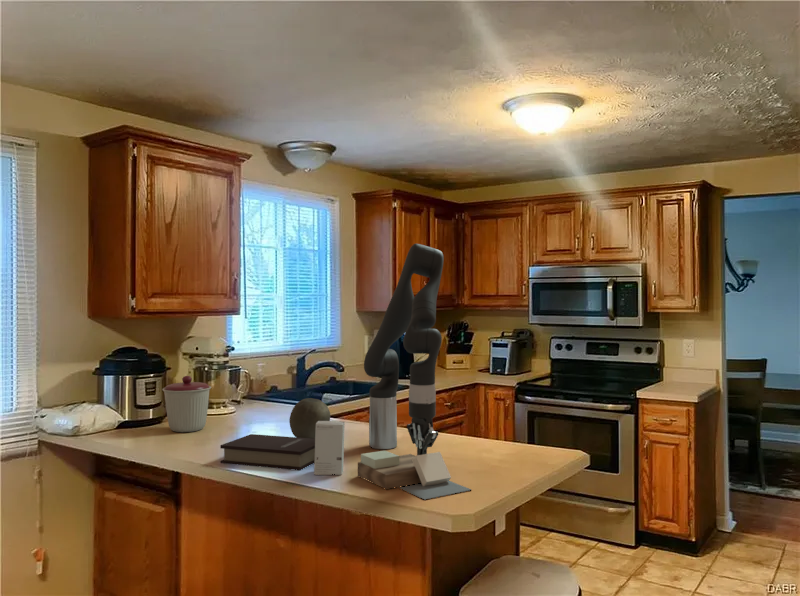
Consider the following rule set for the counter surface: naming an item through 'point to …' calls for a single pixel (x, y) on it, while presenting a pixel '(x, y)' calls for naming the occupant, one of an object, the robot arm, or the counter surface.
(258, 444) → the book
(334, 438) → the skincare box
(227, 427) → the counter surface
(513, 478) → the counter surface
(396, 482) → the walnut board
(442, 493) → the grey mat
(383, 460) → the sage tile
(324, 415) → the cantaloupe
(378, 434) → the robot arm
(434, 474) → the cream tile
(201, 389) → the canister
